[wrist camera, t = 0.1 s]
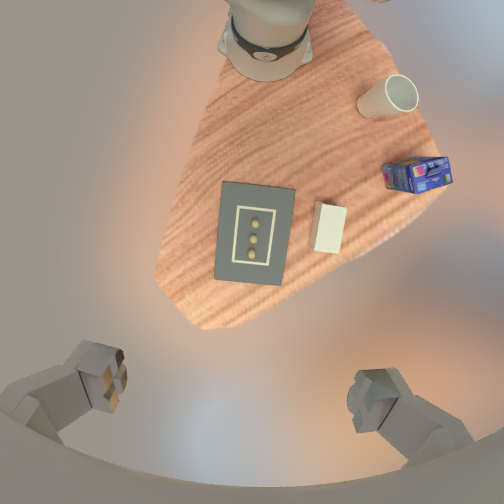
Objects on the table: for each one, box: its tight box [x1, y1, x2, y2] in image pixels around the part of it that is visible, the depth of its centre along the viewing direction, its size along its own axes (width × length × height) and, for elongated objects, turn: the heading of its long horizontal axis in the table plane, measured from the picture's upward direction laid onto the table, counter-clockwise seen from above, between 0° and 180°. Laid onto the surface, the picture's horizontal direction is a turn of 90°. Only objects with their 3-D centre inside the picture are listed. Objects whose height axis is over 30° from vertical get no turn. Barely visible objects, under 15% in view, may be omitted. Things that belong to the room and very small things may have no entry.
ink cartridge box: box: [382, 157, 453, 194], centre depth 45 cm, size 10×6×14 cm, turn 109°
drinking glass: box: [357, 74, 419, 118], centre depth 41 cm, size 7×7×15 cm
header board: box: [214, 181, 296, 286], centre depth 55 cm, size 20×14×4 cm
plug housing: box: [309, 200, 347, 254], centre depth 54 cm, size 9×5×5 cm, turn 173°
